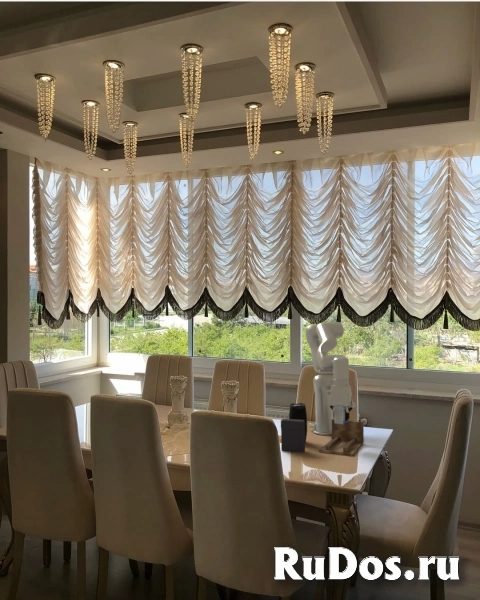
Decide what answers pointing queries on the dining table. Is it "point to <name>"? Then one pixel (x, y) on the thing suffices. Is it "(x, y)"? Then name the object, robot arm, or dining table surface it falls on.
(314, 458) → the dining table surface
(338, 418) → the medicine box
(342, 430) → the book rack
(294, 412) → the portable speaker
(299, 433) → the calculator
